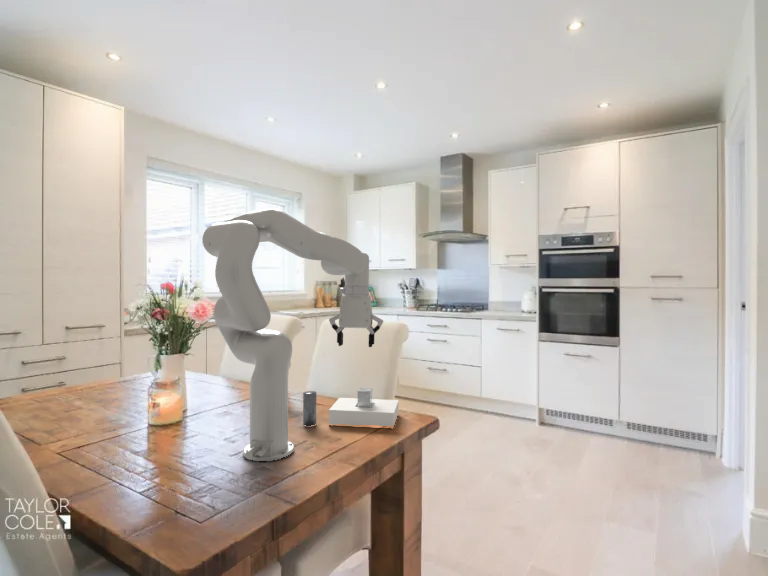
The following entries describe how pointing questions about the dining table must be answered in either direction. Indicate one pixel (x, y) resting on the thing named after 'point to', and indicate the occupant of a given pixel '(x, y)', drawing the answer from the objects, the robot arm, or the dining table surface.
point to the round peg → (309, 408)
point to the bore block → (363, 412)
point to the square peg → (365, 397)
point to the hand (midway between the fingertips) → (355, 346)
